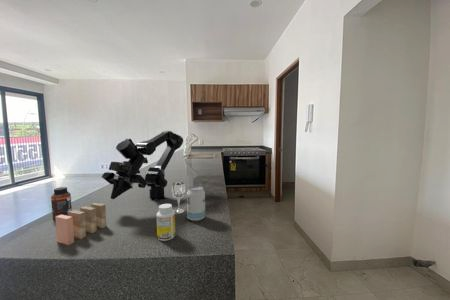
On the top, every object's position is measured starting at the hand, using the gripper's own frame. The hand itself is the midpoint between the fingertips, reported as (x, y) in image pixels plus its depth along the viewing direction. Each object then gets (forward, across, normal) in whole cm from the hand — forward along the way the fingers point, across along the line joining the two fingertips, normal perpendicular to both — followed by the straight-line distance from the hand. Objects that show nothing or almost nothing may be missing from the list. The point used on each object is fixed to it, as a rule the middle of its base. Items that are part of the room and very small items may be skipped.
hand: (112, 198), depth 73 cm
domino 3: (+12, 0, -1) cm, 12 cm away
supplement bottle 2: (+9, +27, +3) cm, 29 cm away
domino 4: (+10, 0, +2) cm, 10 cm away
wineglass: (-5, +20, +16) cm, 26 cm away
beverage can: (-2, +30, +14) cm, 33 cm away
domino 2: (+15, 0, -3) cm, 15 cm away
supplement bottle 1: (+9, -22, +3) cm, 24 cm away
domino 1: (+17, 0, -6) cm, 18 cm away
